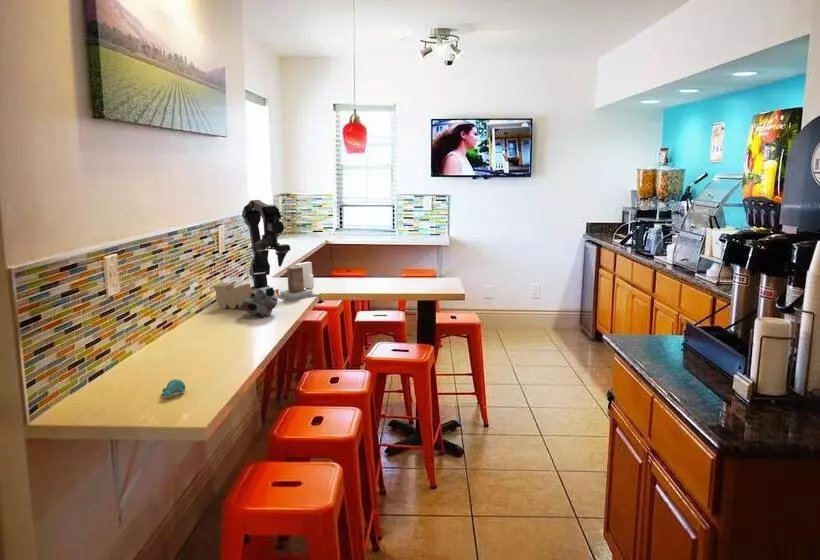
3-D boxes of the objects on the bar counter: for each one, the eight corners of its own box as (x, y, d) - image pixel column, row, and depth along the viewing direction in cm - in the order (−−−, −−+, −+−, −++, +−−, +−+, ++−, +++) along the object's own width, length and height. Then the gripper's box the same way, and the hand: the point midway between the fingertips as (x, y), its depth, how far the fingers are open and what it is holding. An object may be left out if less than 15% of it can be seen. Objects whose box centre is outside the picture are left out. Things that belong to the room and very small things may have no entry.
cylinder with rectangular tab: (304, 285, 317) (303, 261, 315) (317, 286, 312) (316, 262, 310) (291, 288, 310) (289, 263, 308) (304, 289, 305) (303, 265, 303)
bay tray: (275, 296, 290) (274, 291, 290) (301, 292, 300) (301, 286, 299) (291, 300, 280) (291, 295, 280) (318, 295, 289) (317, 290, 289)
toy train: (249, 310, 263) (247, 286, 262) (214, 308, 269) (213, 285, 267) (257, 307, 268) (255, 283, 267) (222, 305, 274) (221, 282, 272)
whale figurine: (191, 391, 166) (189, 377, 166) (175, 401, 159) (173, 386, 159) (171, 390, 168) (169, 376, 167) (154, 400, 161) (153, 385, 160)
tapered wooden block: (288, 295, 290) (287, 267, 288) (298, 293, 293) (296, 266, 291) (294, 296, 286) (292, 268, 284) (304, 294, 289) (302, 267, 287)
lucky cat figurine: (251, 310, 261) (266, 280, 261) (275, 324, 257) (290, 293, 257) (231, 308, 247) (247, 275, 246) (256, 321, 243) (272, 289, 243)
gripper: (243, 233, 291) (245, 267, 294) (272, 234, 281) (274, 269, 284) (261, 231, 300) (263, 264, 303) (290, 232, 290) (292, 266, 293)
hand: (272, 266), depth 295 cm, fingers open, 9 cm apart
